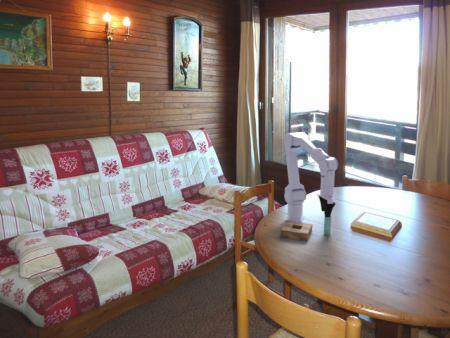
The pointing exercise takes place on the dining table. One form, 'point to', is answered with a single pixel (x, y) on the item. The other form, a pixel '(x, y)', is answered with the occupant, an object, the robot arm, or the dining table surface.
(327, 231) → the peg
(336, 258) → the dining table surface
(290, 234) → the socket block
